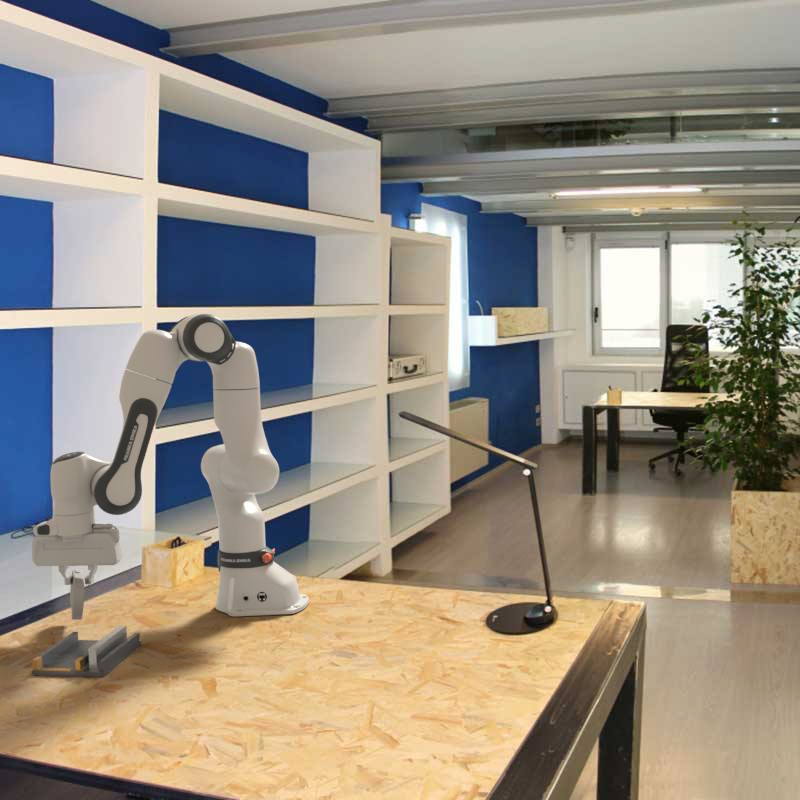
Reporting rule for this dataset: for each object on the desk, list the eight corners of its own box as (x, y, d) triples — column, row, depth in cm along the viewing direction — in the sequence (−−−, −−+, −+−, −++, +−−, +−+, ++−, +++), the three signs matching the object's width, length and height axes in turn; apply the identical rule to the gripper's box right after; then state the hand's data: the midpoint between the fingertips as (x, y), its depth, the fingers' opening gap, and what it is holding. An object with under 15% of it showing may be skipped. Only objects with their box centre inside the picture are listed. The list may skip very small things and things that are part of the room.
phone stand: (141, 645, 220) (139, 622, 220) (103, 677, 201) (102, 652, 201) (75, 644, 222) (73, 621, 222) (32, 675, 203) (30, 650, 203)
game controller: (83, 624, 224) (86, 586, 223) (72, 624, 223) (75, 586, 222) (79, 599, 242) (82, 565, 241) (69, 599, 241) (72, 565, 241)
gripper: (124, 520, 233) (128, 579, 234) (39, 522, 236) (44, 580, 237) (112, 526, 226) (117, 587, 228) (25, 528, 229) (31, 588, 231)
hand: (79, 584), depth 232 cm, fingers open, 3 cm apart
